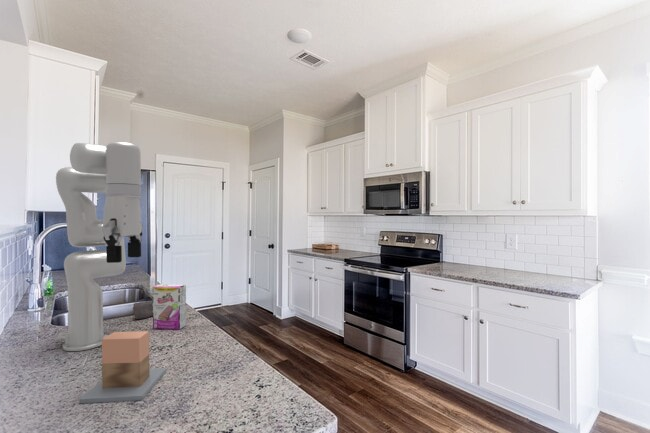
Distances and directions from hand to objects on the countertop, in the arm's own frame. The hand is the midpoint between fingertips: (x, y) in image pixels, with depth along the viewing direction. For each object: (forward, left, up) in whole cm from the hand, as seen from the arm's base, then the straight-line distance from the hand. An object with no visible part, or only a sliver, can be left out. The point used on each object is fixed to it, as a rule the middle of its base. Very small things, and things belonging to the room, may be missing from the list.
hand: (124, 259), depth 83 cm
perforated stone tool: (-20, +60, -33) cm, 71 cm away
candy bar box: (-6, +44, -32) cm, 55 cm away
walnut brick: (0, 0, -31) cm, 31 cm away
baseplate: (0, 0, -32) cm, 32 cm away
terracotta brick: (0, 0, -25) cm, 25 cm away
